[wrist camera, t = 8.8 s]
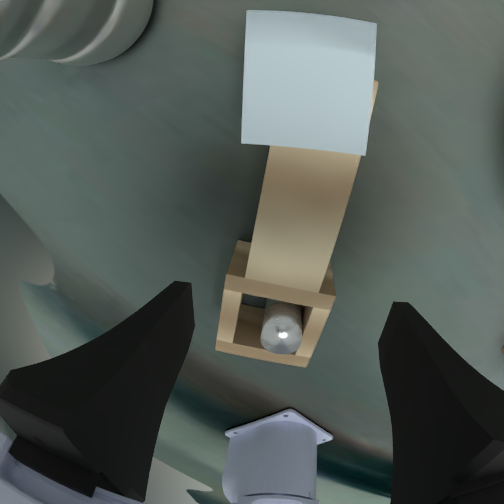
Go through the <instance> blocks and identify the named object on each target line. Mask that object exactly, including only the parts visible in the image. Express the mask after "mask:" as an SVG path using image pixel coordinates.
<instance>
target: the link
mask: <svg viewBox="0 0 504 504" xmlns="http://www.w3.org/2000/svg"><path fill="white" fill-rule="evenodd" d="M378 83H379V82H377V81H374V82H373V93H372V104H371V114H372V110H373V106H374V101H375V97H376V92H377V88H378ZM371 114H370V118H371ZM360 158H361V155H356V154H348V153H341V152H333V151H324V150H316V149H306V148H296V147H285V146H272V145H270V149H269V155H268V160H267V165H266V170H265V175H264V181H263V186H262V191H261V196H260V201H259V207H258V212H257V217H256V222H255V227H254V233H253V238H252V243H251V242H246V241H241V240H238V242H237V244H236V247H235V250H234V253H233V256H232V259H231V262H230V265H229V267H228V270H227V273H226V279H225V285H224V292H223V299H222V306H221V313H220V320H219V327H218V334H217V341H216V348H215V350H217V351H222V352H226V353H231V354H235V355H240V356H245V357H250V358H255V359H260V360H266V361H271V362H276V363H282V364H288V365H294V366H300V367H307V365H308V362H309V360H310V358H311V356H312V353H313V351H314V349H315V346H316V344H317V342H318V339H319V337H320V335H321V332H322V330H323V328H324V325H325V323H326V320H327V318H328V315H329V313H330V310H331V308H332V305H333V303H334V300H335V298H336V293H335V286H334V280H333V274H332V268H331V262H330V258H331V255H332V252H333V249H334V246H335V243H336V239H337V236H338V233H339V230H340V227H341V223H342V220H343V217H344V214H345V210H346V207H347V204H348V200H349V197H350V193H351V190H352V187H353V183H354V179H355V176H356V172H357V169H358V165H359V161H360ZM244 293H245V294H249V295H254V296H259V297H264V298H269V299H274V300H279V301H284V302H289V303H294V304H299V305H302V343H301V346H300V347H299V348H298V349H297V350H296V351H294V352H292V353H289V354H275V353H272V352H269V351H268V350H266V349H265V348H264V347H263V345H262V344H261V333H262V326H263V319H264V312H265V309H264V308H259V307H254V306H249V305H244V304H242V300H243V295H244Z"/></svg>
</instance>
